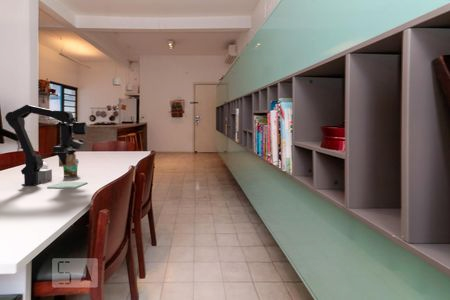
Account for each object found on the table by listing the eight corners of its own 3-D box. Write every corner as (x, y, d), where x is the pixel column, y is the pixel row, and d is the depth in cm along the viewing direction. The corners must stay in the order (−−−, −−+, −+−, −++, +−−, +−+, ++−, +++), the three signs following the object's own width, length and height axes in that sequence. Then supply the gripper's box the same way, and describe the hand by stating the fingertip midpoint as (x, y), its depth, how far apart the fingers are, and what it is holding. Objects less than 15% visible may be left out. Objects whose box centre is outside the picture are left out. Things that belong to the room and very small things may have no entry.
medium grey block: (45, 181, 176) (45, 171, 175) (35, 181, 176) (34, 170, 175) (52, 179, 182) (51, 169, 181) (42, 179, 182) (41, 169, 181)
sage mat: (73, 188, 159) (73, 187, 158) (47, 188, 159) (47, 186, 159) (87, 183, 172) (87, 182, 172) (62, 182, 173) (62, 181, 173)
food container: (73, 178, 187) (72, 161, 186) (62, 177, 187) (62, 161, 186) (82, 174, 199) (82, 158, 198) (73, 174, 199) (72, 158, 199)
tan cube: (70, 166, 165) (70, 155, 165) (59, 166, 165) (58, 155, 165) (75, 165, 171) (75, 154, 171) (65, 164, 171) (64, 154, 171)
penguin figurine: (47, 160, 196) (51, 164, 187) (47, 174, 197) (51, 178, 188) (35, 161, 192) (39, 165, 182) (36, 174, 193) (39, 179, 184)
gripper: (72, 136, 157) (73, 166, 159) (89, 134, 176) (90, 161, 177) (50, 135, 157) (51, 166, 159) (69, 134, 176) (70, 161, 177)
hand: (67, 163), depth 168 cm, fingers closed on tan cube, 6 cm apart
